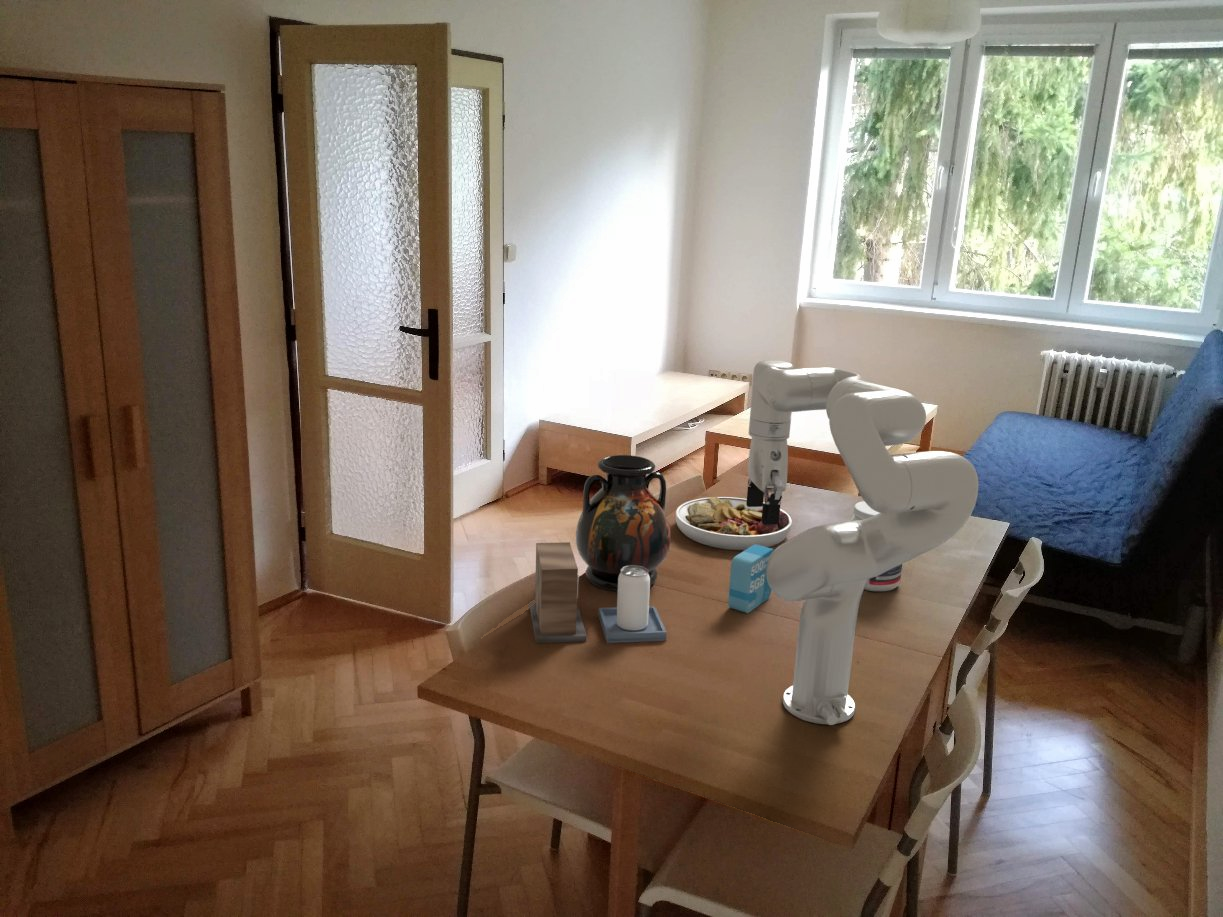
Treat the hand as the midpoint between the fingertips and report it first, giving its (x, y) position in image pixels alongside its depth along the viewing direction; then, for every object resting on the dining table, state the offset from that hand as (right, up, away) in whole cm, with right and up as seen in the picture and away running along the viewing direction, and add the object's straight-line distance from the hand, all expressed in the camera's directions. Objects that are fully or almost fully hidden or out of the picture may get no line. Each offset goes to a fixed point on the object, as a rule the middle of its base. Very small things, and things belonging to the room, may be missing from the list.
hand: (762, 514), depth 187 cm
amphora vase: (-26, -17, +39) cm, 50 cm away
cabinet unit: (-40, -23, +16) cm, 49 cm away
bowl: (+3, -9, +71) cm, 72 cm away
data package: (+2, -21, +29) cm, 36 cm away
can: (-24, -24, +15) cm, 37 cm away
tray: (-24, -24, +15) cm, 37 cm away
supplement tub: (+32, -18, +43) cm, 56 cm away
